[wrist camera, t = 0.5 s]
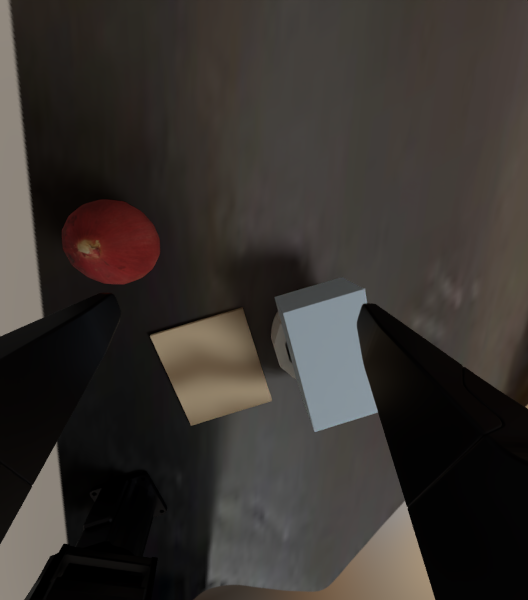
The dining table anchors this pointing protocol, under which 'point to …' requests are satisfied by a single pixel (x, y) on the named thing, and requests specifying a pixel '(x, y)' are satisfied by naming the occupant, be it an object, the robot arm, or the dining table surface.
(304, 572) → the dining table surface
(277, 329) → the bowl
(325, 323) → the light blue block
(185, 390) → the mat
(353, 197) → the dining table surface
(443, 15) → the dining table surface
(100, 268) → the onion
